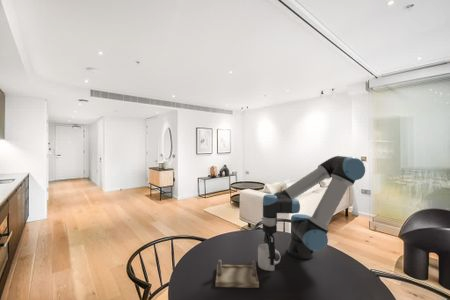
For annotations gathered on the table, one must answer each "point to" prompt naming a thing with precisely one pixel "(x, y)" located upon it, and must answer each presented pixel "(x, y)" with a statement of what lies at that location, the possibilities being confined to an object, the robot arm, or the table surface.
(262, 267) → the mug
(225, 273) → the tray
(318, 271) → the table surface
